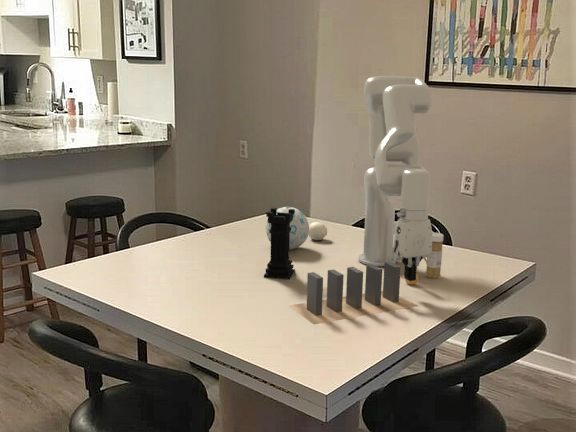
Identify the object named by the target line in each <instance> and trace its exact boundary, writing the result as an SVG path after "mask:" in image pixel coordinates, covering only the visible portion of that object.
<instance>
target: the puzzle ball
mask: <svg viewBox="0 0 576 432" xmlns="http://www.w3.org/2000/svg"><path fill="white" fill-rule="evenodd" d="M289 209H295V213H294V214H293V220H292V221H291V223H290V227H291V231H290V242H289V251H292V250H295V249H298V248H300V247H301V246H302V245H303V244H305V242H306V241H307V239H308V237H309V235H308V233H309V226H310V224H309V221H308V217H307V216H306V215H305V214H304V213H303V211H301V210H299V209H298V208H297V207H296V208H295V207H294V206H283V207H279V208H277V213H278V212H281V213H289ZM277 213H276V215H277ZM265 223H266V224H265V232H266V236H267V239H268V241H269V242H270V243H271V233H269V230H270V229H271V223H268V219H267V220H266V222H265Z"/></svg>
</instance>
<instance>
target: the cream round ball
mask: <svg viewBox="0 0 576 432" xmlns="http://www.w3.org/2000/svg"><path fill="white" fill-rule="evenodd" d="M326 236H328V228H327V226H326V225H325V224H324V223H323V222H320V221H313V222H311V223H310V224H309V233H308V237H309V238H310V239H312V240H314V241H321V240H323V239H324V238H325V237H326Z"/></svg>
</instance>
